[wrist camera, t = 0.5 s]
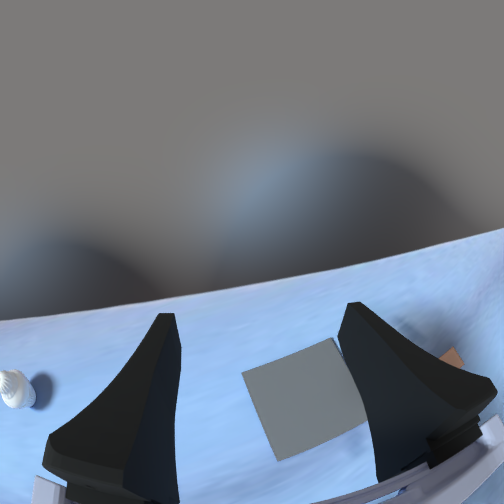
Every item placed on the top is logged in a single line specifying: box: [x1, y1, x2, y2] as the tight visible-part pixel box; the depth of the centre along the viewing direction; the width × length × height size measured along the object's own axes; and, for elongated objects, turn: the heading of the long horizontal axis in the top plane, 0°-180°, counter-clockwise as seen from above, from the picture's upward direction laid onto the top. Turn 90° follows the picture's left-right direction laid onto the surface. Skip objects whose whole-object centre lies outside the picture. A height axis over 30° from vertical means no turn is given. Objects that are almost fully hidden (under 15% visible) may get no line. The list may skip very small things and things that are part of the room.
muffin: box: [0, 370, 36, 409], centre depth 22 cm, size 6×6×7 cm
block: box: [439, 347, 464, 369], centre depth 22 cm, size 3×8×6 cm, turn 110°
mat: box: [242, 338, 368, 461], centre depth 26 cm, size 11×11×1 cm
